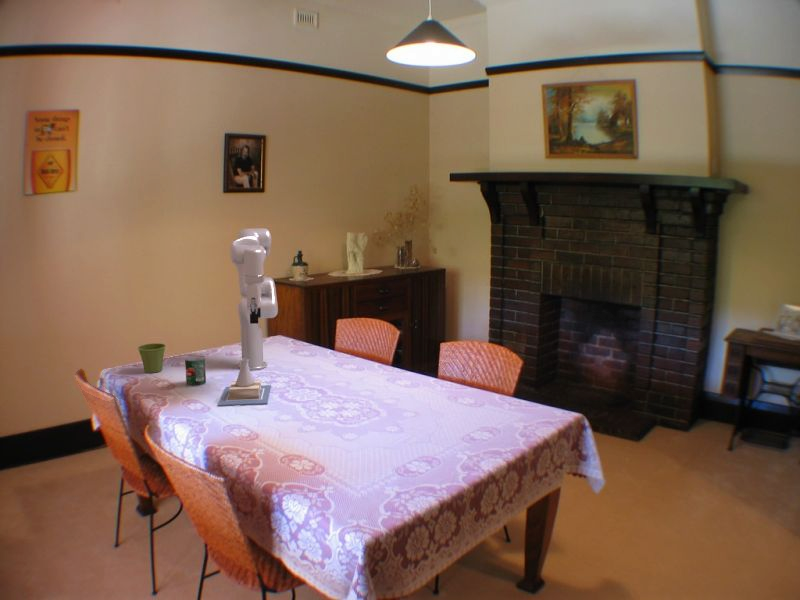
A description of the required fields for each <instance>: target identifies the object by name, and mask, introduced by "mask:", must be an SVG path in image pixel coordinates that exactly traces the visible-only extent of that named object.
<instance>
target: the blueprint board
mask: <svg viewBox="0 0 800 600" xmlns="http://www.w3.org/2000/svg"><path fill="white" fill-rule="evenodd" d="M229 388H230V386H226V387H225V388H224V390H223V393H222V395H221V396H220V399H219V402H218V404H217V406H218V407H233V406H234V405H240V406H257V405H259V406H261V405H262V406H263V404H265V405H268V402H269V399H270V398H269V397H270V394H269V393H271V388H272V385H271V384H269V385H266V384H265V385H261V392H260V396H259V399H234V400H229ZM234 407H235V406H234Z"/></svg>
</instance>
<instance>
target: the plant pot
mask: <svg viewBox="0 0 800 600" xmlns="http://www.w3.org/2000/svg"><path fill="white" fill-rule="evenodd" d="M166 347H167V344H166V343H160V342H159V343H158V342H155V343H154V342H153V343H147V344H143V345H142V344H141V345H139V346H137V347H136V348H137V350H138V352H139V354H140V358H141V361H142V362H141V363H142V366H143V369H144V372H145V373H146V372H147V373H146V374H154V373H160V372H162V371H163V365H164V356H165V355H164V353H165V349H166Z"/></svg>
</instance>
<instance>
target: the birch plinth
mask: <svg viewBox="0 0 800 600" xmlns="http://www.w3.org/2000/svg"><path fill="white" fill-rule="evenodd" d="M236 381H237V380H232V381H231V384H230V386H229V387H230V388H229V400H234V399H259V396H260V392H261V386H262V380H261V379H254V381H255V384H253V385H251V386H247V387H241V386H237V385H235V384H236Z"/></svg>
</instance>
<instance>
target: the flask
mask: <svg viewBox="0 0 800 600" xmlns="http://www.w3.org/2000/svg"><path fill="white" fill-rule="evenodd" d="M248 361H249V359H242V358H241V359H240V360H239V362H240V363H241V367H240V368H239V373H238V375H237V378H236V380H235V381H236V384H235V385H237V386H241V387H247V386H251V385H253V384H255V381H254V380H255V379H254V376H253V375H252V372H251V370H249V366H248Z"/></svg>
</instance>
